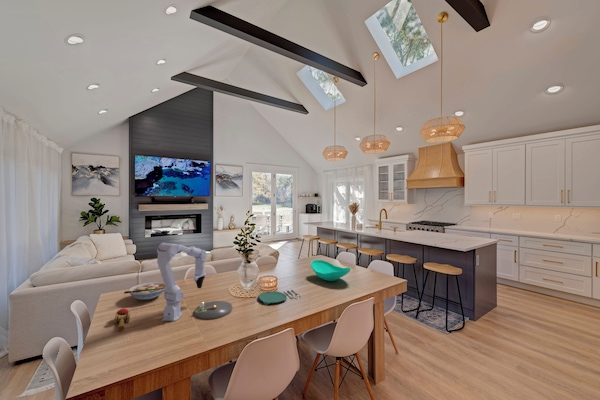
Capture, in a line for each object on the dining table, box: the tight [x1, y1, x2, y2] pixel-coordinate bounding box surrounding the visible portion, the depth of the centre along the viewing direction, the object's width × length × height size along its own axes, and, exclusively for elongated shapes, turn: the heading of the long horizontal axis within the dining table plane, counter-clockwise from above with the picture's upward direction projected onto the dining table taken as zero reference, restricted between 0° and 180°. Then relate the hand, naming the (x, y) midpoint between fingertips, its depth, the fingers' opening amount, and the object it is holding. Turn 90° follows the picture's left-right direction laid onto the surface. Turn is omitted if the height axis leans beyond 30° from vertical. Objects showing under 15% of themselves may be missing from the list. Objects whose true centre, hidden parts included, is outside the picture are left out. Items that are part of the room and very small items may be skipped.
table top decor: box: [310, 259, 352, 282], centre depth 216 cm, size 40×28×13 cm
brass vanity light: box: [197, 301, 217, 311], centre depth 151 cm, size 11×3×5 cm, turn 119°
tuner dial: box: [194, 300, 233, 320], centre depth 153 cm, size 22×22×2 cm
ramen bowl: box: [123, 281, 166, 301], centre depth 170 cm, size 25×23×8 cm
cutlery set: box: [257, 289, 300, 306], centre depth 175 cm, size 20×30×2 cm, turn 118°
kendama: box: [113, 308, 131, 332], centre depth 135 cm, size 8×6×18 cm
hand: (199, 287), depth 162 cm, fingers closed
